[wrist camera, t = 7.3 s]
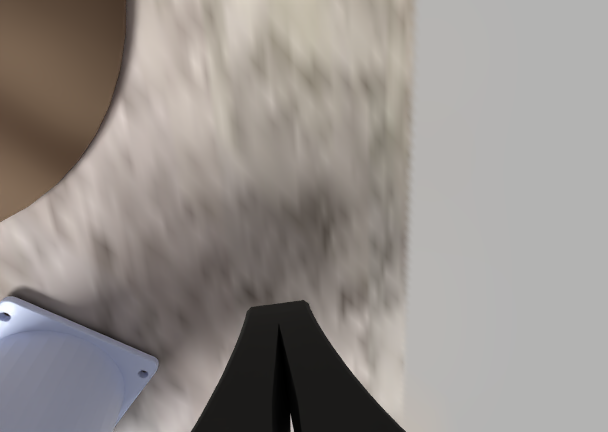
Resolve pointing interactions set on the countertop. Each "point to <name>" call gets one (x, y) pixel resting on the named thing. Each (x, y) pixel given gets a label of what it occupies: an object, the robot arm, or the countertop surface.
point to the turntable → (53, 89)
